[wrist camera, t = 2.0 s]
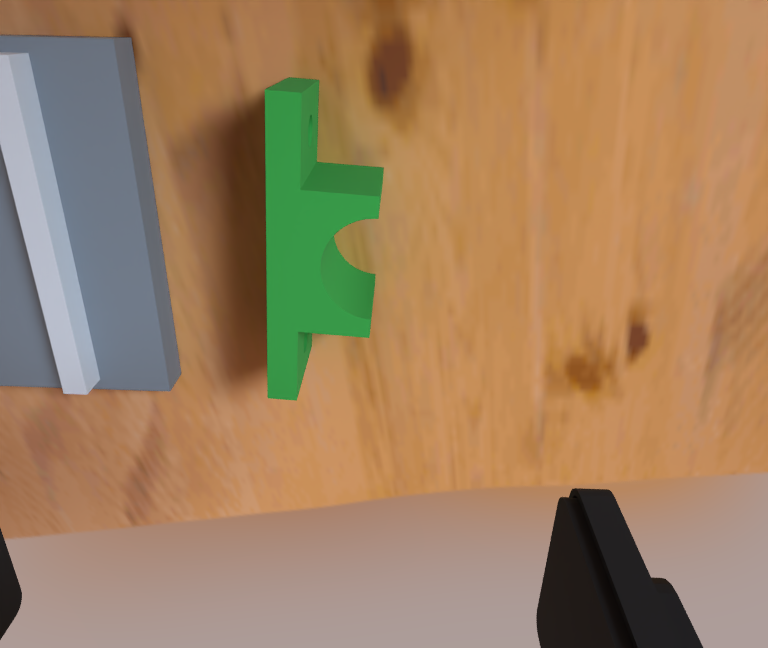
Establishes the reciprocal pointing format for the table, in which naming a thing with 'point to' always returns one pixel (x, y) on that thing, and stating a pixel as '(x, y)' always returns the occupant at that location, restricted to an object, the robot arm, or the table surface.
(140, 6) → the table surface
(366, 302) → the pipe clamp
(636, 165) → the table surface
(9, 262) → the rail board
